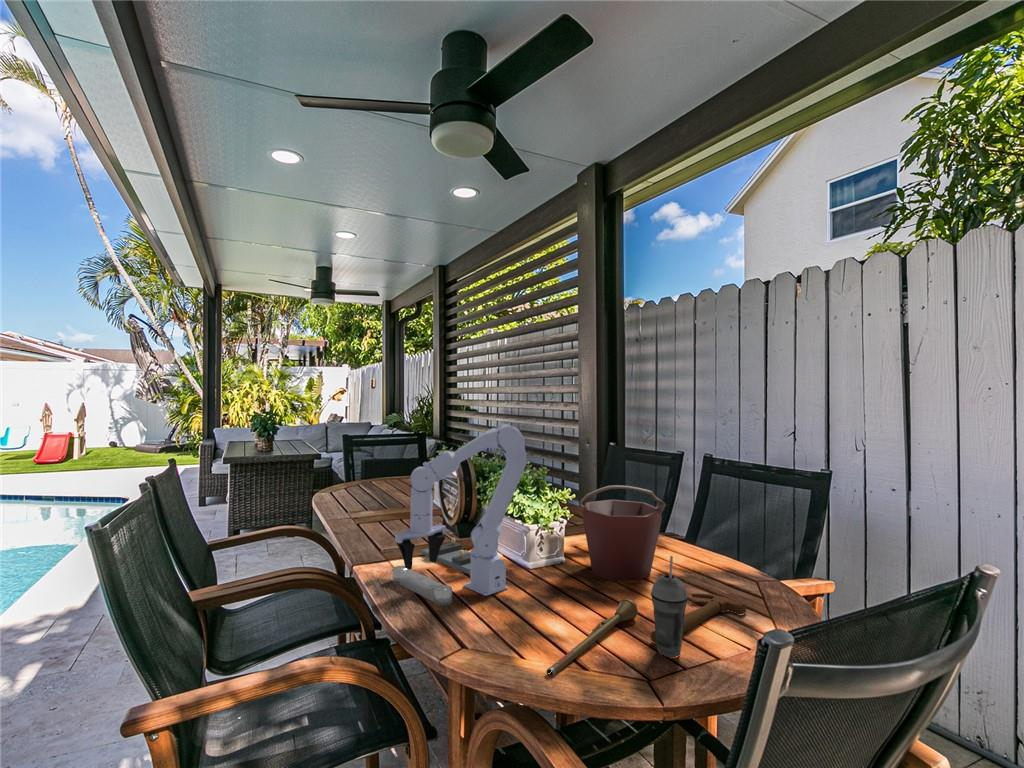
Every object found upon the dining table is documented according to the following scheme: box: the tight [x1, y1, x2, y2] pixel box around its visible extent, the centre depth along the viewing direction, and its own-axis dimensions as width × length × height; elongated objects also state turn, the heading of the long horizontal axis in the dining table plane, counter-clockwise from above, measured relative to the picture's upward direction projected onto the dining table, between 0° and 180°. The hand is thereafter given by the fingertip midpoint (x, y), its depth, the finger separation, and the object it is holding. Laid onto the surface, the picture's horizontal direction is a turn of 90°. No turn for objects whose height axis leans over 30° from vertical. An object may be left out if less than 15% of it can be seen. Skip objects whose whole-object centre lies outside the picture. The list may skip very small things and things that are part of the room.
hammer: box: [650, 593, 747, 643], centre depth 123 cm, size 12×3×30 cm
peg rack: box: [421, 537, 471, 575], centre depth 164 cm, size 24×10×5 cm, turn 44°
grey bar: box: [392, 565, 453, 607], centre depth 140 cm, size 24×4×4 cm, turn 44°
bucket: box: [578, 484, 667, 582], centre depth 155 cm, size 24×22×25 cm
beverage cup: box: [650, 555, 689, 657], centre depth 108 cm, size 7×7×20 cm
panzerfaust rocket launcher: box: [545, 598, 639, 677], centre depth 113 cm, size 5×35×5 cm
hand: (420, 565), depth 140 cm, fingers open, 7 cm apart
